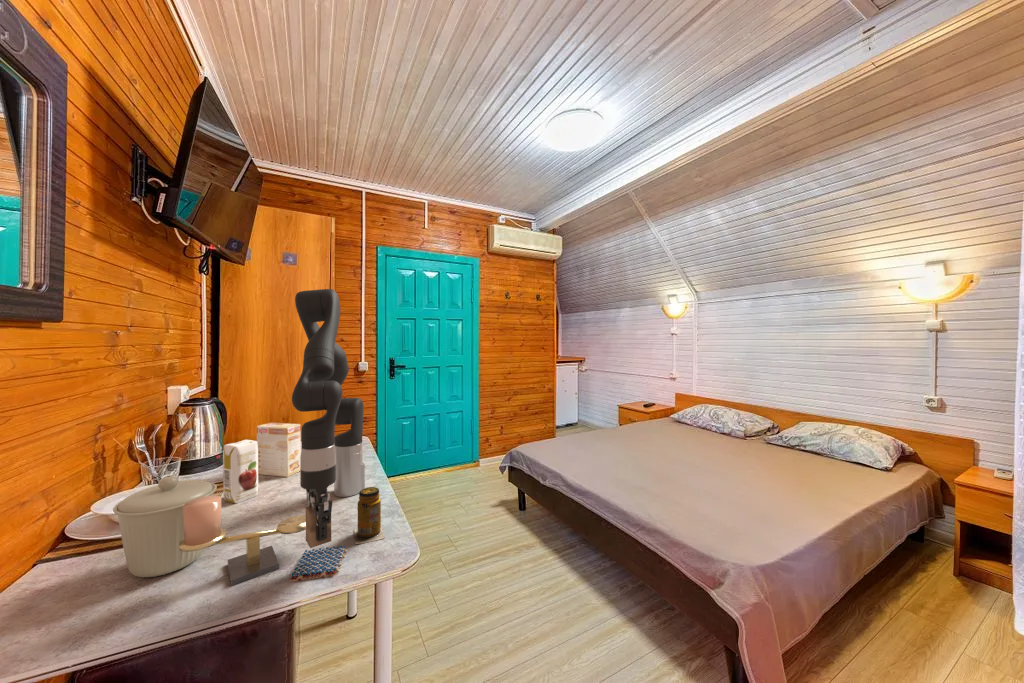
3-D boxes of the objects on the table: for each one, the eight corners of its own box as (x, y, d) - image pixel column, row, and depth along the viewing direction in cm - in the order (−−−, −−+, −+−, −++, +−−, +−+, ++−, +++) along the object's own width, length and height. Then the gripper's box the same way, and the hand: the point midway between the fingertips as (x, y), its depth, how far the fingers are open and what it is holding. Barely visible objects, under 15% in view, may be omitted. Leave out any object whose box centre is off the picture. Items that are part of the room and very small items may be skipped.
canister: (157, 594, 78) (156, 495, 77) (90, 584, 81) (89, 489, 81) (235, 546, 95) (234, 466, 95) (178, 539, 99) (177, 462, 98)
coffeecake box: (301, 471, 149) (301, 423, 149) (287, 477, 142) (286, 427, 142) (271, 468, 153) (271, 421, 152) (256, 474, 146) (255, 425, 146)
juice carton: (220, 501, 121) (219, 444, 121) (247, 491, 129) (246, 438, 129) (234, 505, 119) (234, 447, 118) (261, 494, 127) (261, 440, 126)
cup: (220, 527, 85) (220, 493, 85) (222, 538, 80) (222, 502, 80) (183, 537, 81) (183, 501, 81) (183, 549, 76) (183, 511, 76)
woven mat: (287, 585, 81) (287, 576, 81) (303, 557, 91) (303, 549, 91) (337, 578, 83) (337, 569, 83) (347, 551, 94) (347, 544, 94)
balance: (308, 538, 99) (308, 500, 99) (318, 554, 92) (318, 513, 92) (179, 580, 82) (179, 535, 82) (178, 604, 74) (178, 554, 74)
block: (326, 533, 90) (325, 501, 90) (331, 541, 87) (331, 507, 87) (305, 540, 87) (305, 507, 87) (310, 548, 84) (310, 513, 84)
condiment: (381, 524, 107) (380, 483, 106) (384, 538, 99) (384, 494, 99) (354, 530, 103) (353, 488, 103) (355, 545, 96) (355, 500, 96)
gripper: (344, 468, 84) (344, 542, 84) (327, 454, 95) (327, 519, 95) (308, 476, 79) (308, 554, 79) (294, 460, 90) (294, 529, 90)
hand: (318, 535), depth 87 cm, fingers closed on block, 4 cm apart
